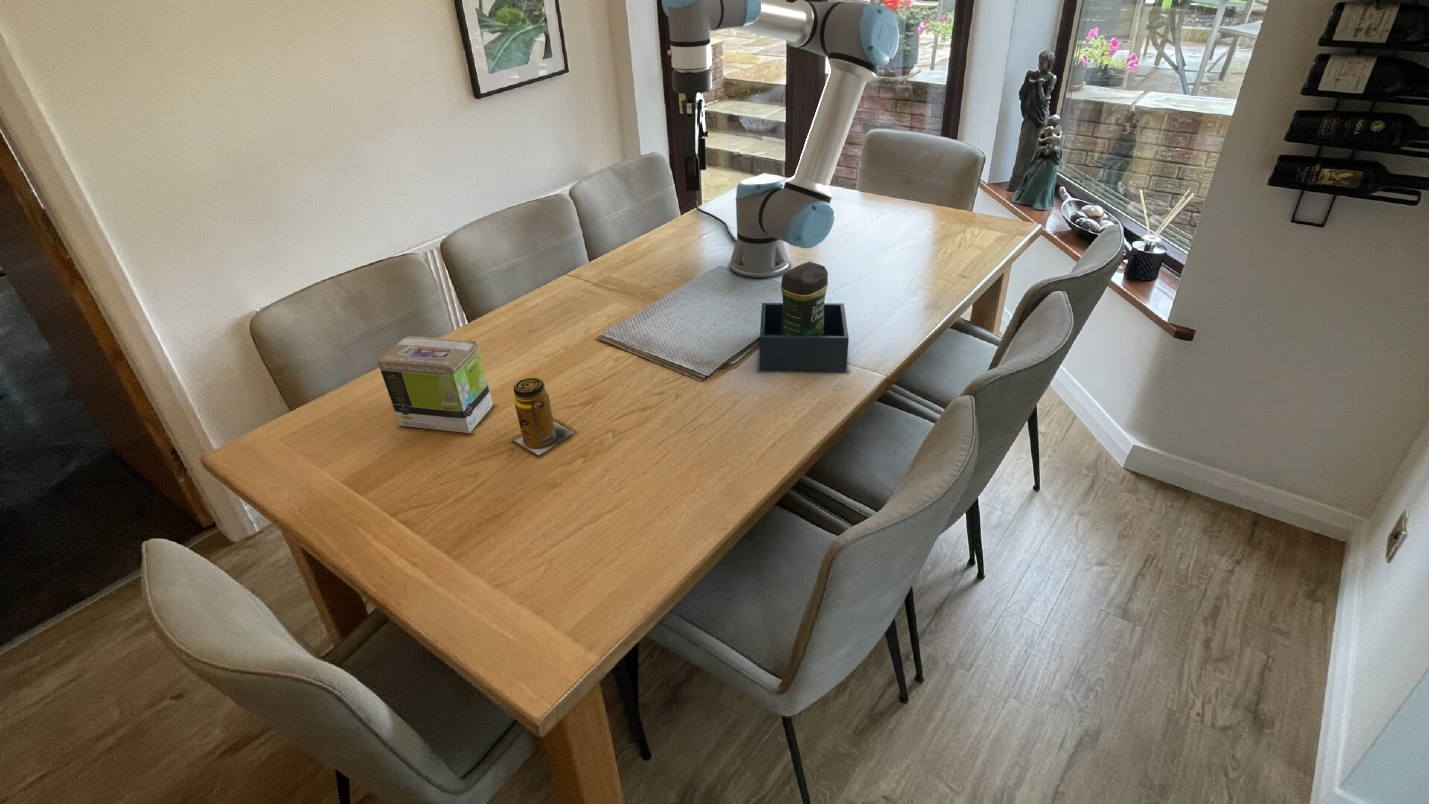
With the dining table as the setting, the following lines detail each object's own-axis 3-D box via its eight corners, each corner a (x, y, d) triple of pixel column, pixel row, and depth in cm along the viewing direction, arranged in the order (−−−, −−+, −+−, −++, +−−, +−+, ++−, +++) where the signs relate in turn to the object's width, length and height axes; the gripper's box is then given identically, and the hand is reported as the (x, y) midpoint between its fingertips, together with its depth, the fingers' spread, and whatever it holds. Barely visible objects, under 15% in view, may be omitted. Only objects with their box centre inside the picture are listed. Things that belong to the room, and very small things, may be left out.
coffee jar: (803, 364, 150) (806, 281, 139) (773, 351, 154) (774, 270, 144) (830, 345, 156) (835, 264, 145) (800, 334, 160) (803, 255, 150)
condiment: (513, 441, 133) (500, 386, 126) (549, 419, 138) (539, 365, 132) (539, 456, 129) (526, 400, 122) (575, 433, 134) (565, 379, 128)
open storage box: (761, 335, 162) (761, 302, 158) (841, 335, 161) (843, 303, 156) (759, 371, 150) (759, 337, 146) (846, 372, 149) (848, 338, 144)
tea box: (494, 405, 143) (478, 339, 135) (469, 435, 135) (450, 367, 127) (426, 397, 146) (406, 333, 138) (397, 427, 138) (374, 360, 130)
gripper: (679, 57, 149) (685, 161, 161) (662, 82, 129) (671, 200, 141) (716, 56, 149) (719, 161, 161) (704, 81, 128) (709, 199, 140)
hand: (696, 179), depth 151 cm, fingers open, 13 cm apart
